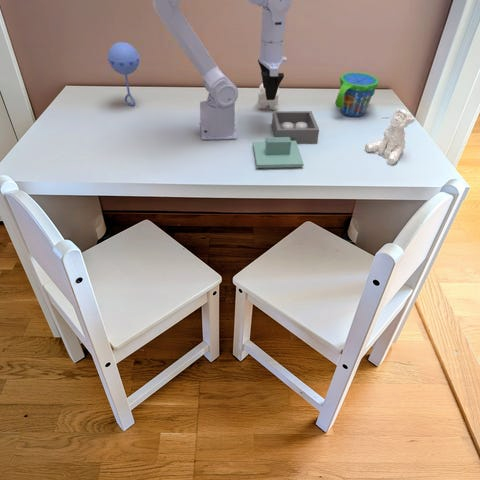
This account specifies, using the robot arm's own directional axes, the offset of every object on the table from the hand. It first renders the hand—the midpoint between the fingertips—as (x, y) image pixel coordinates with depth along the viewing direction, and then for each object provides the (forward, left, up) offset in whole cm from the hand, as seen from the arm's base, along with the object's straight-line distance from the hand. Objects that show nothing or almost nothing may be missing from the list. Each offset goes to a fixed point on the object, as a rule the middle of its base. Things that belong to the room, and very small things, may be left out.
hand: (268, 93), depth 109 cm
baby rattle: (-40, +14, -10) cm, 43 cm away
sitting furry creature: (+30, -16, -10) cm, 35 cm away
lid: (+1, -17, -9) cm, 19 cm away
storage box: (+7, -5, -9) cm, 13 cm away
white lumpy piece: (+2, +14, -10) cm, 17 cm away
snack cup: (+27, +8, -10) cm, 30 cm away
